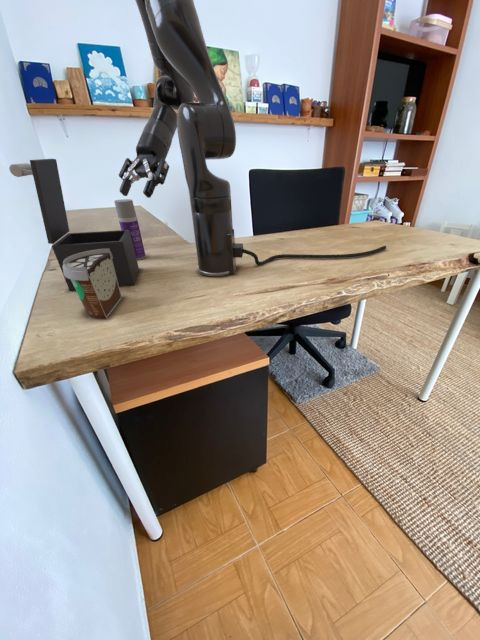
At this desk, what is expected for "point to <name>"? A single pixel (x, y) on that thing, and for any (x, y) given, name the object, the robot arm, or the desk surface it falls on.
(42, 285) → the desk surface
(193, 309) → the desk surface
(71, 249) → the dark grey open box
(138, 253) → the container
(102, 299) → the food container
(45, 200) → the lid
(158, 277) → the desk surface
